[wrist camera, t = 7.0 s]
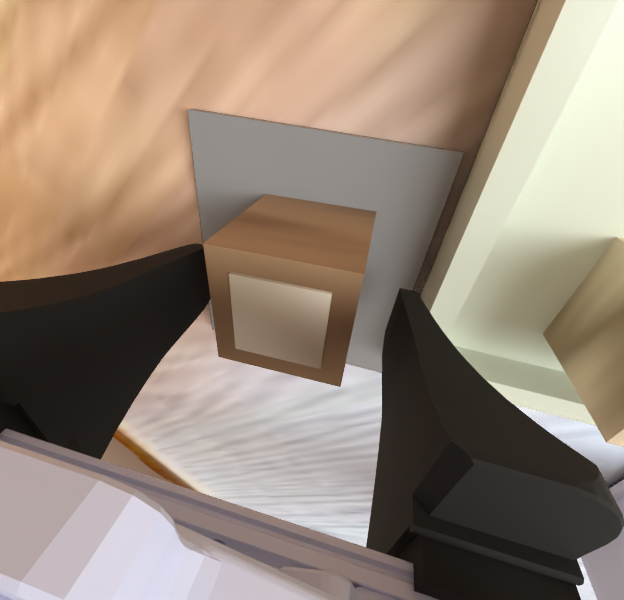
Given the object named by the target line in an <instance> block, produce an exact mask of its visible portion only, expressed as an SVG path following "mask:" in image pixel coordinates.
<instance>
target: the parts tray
mask: <svg viewBox="0 0 624 600" xmlns="http://www.w3.org/2000/svg"><path fill="white" fill-rule="evenodd" d="M616 237H619V238H624V0H538V2H537V5H536V7H535V10H534V12H533V15H532V17H531V20H530V22H529V25H528V27H527V30H526V32H525V35H524V37H523V40H522V42H521V45H520V47H519V50H518V52H517V55H516V57H515V60H514V62H513V65H512V67H511V70H510V72H509V75H508V77H507V80H506V83H505V85H504V88H503V90H502V93H501V95H500V98H499V100H498V103H497V105H496V108H495V110H494V113H493V115H492V118H491V120H490V123H489V125H488V128H487V130H486V133H485V135H484V138H483V140H482V143H481V145H480V148H479V150H478V153H477V155H476V158H475V160H474V163H473V166H472V168H471V171H470V173H469V176H468V178H467V181H466V183H465V186H464V188H463V191H462V193H461V196H460V198H459V201H458V203H457V206H456V208H455V211H454V213H453V216H452V218H451V221H450V223H449V226H448V228H447V231H446V233H445V236H444V238H443V241H442V244H441V246H440V249H439V251H438V254H437V256H436V259H435V261H434V264H433V266H432V269H431V271H430V274H429V276H428V279H427V281H426V284H425V286H424V289H423V291H422V294H421V296H420V297H421V299H422V300H423V302H424V304H425V305H426V307H427V308H428V310H429V311H430V313H431V315H432V316H433V318H434V319H435V321H436V322H437V323H438V325H439V326H440V328H441V329H442V331H443V332H444V333H445V335H446V336H447V337H448V339H449V340H450V341H451V342H452V344H453V345H454V346H455V347H456V349H457V350H458V351H459V352H460V353H461V354H462V356H463V357H464V358H465V359H466V360H467V361H468V362H469V363H470V364H471V365H472V366H473V367H474V369H475V370H476V371H477V372H478V373H479V374H480V375H481V376H482V377H483V378H484V379H485V380H486V381H487V382H488V383H490V384H491V385H492V386H493V387H494V388H495V389H496V390H497V391H498V392H500V393H501V394H502V395H503V396H504V397H505V398H506V399H507V400H509V401H510V402H511V403H512V404H513V405H517V406H521V407H525V408H529V409H532V410H536V411H540V412H544V413H548V414H552V415H556V416H560V417H564V418H568V419H572V420H576V421H579V422H583V423H587V424H591V425H595V426H596V424H595V422H594V420H593V419H592V417H591V415H590V414H589V412H588V410H587V408H586V407H585V405H584V403H583V402H582V400H581V398H580V397H579V395H578V393H577V391H576V390H575V388H574V386H573V385H572V383H571V381H570V380H569V378H568V376H567V374H566V373H565V371H564V369H563V368H562V366H561V364H560V362H559V361H558V359H557V357H556V356H555V354H554V352H553V351H552V349H551V347H550V345H549V344H548V342H547V340H546V339H545V337H544V335H543V333H544V332H545V330H546V329H547V328H548V326H549V325H550V324H551V322H552V321H553V320H554V318H555V317H556V316H557V314H558V313H559V312H560V311H561V309H562V308H563V307H564V305H565V304H566V303H567V301H568V300H569V299H570V297H571V296H572V295H573V293H574V292H575V291H576V289H577V288H578V287H579V286H580V284H581V283H582V282H583V280H584V279H585V278H586V276H587V275H588V274H589V272H590V271H591V270H592V268H593V267H594V266H595V264H596V263H597V262H598V261H599V259H600V258H601V257H602V255H603V254H604V253H605V251H606V250H607V249H608V247H609V246H610V245H611V243H612V242H613V241H614V239H615V238H616Z"/></svg>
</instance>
